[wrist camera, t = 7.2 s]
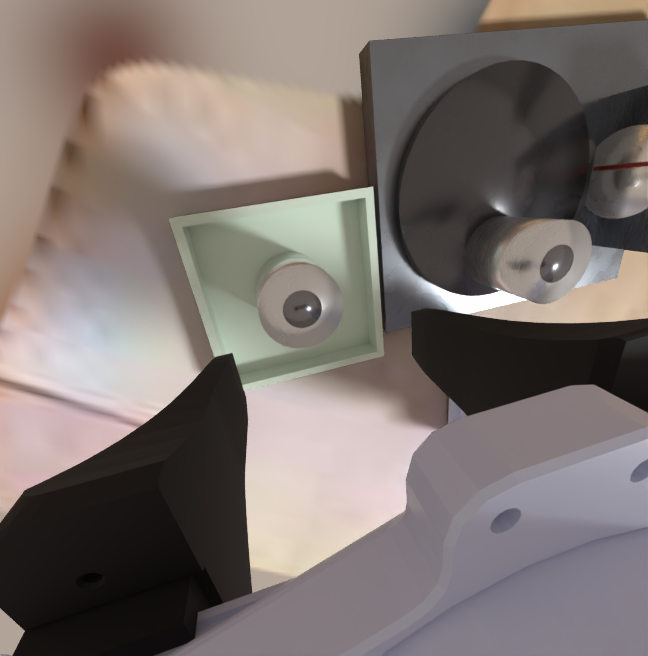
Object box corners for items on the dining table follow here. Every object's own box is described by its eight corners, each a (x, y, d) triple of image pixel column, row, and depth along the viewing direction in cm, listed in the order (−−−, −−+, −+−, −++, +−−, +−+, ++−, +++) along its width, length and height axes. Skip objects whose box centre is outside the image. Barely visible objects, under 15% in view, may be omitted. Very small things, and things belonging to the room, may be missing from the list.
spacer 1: (324, 315, 21) (344, 343, 17) (259, 322, 20) (263, 353, 16) (323, 249, 19) (344, 263, 15) (251, 254, 18) (253, 269, 14)
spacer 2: (518, 277, 21) (583, 295, 17) (462, 289, 21) (516, 311, 17) (526, 210, 20) (601, 213, 16) (466, 222, 19) (527, 227, 15)
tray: (373, 344, 23) (384, 356, 22) (228, 379, 22) (227, 395, 20) (361, 188, 19) (373, 186, 17) (176, 216, 17) (168, 218, 15)
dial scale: (597, 274, 26) (689, 292, 21) (378, 325, 23) (419, 363, 17) (655, 29, 19) (812, -36, 14) (359, 54, 16) (415, -19, 11)
